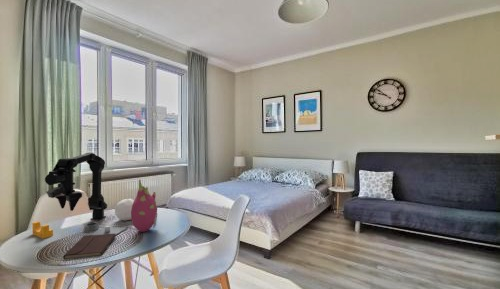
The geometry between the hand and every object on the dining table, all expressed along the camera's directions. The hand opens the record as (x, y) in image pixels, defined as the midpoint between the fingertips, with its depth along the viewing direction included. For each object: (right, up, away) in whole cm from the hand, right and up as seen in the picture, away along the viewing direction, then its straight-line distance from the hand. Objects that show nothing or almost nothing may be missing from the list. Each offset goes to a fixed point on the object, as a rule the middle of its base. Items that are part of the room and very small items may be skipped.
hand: (67, 209), depth 128 cm
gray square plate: (+21, -14, +2) cm, 25 cm away
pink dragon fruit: (+40, -14, +5) cm, 43 cm away
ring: (+8, -14, +7) cm, 17 cm away
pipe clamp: (-13, -14, -1) cm, 19 cm away
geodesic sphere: (+20, -14, +24) cm, 34 cm away
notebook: (+24, -14, -16) cm, 32 cm away
